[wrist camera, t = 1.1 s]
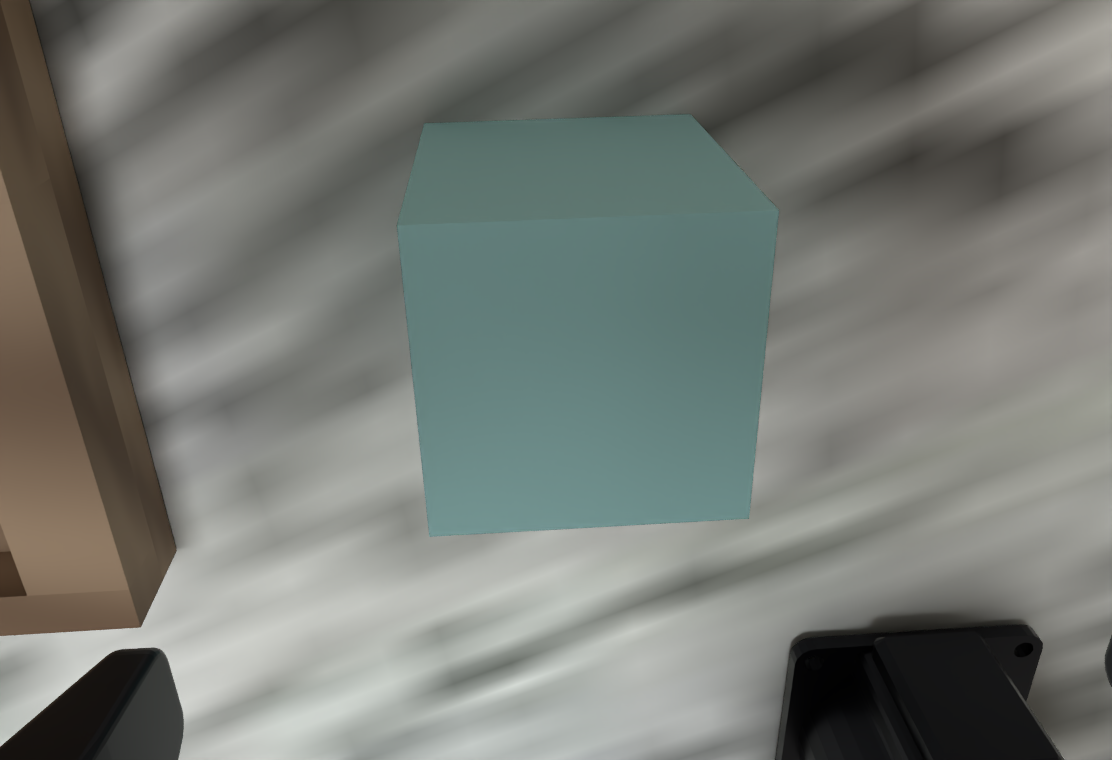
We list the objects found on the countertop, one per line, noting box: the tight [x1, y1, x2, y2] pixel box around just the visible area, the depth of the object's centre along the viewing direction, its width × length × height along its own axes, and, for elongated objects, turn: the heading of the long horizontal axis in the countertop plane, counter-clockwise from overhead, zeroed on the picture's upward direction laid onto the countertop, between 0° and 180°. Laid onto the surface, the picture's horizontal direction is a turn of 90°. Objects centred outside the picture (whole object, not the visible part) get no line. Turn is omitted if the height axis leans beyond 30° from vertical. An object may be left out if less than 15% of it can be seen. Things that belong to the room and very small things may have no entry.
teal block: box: [397, 114, 779, 537], centre depth 16 cm, size 5×5×6 cm
